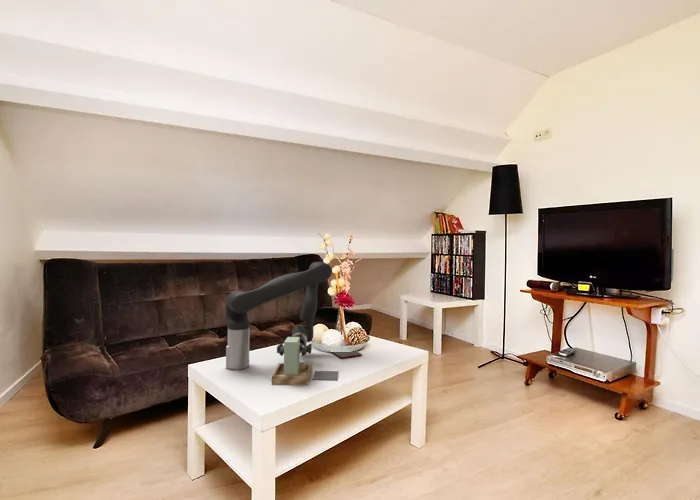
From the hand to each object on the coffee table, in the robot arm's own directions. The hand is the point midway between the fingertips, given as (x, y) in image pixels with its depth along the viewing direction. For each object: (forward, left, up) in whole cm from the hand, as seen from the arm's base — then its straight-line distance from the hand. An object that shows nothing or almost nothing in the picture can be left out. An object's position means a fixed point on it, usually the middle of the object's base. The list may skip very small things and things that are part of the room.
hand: (292, 353), depth 154 cm
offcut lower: (0, +7, -9) cm, 12 cm away
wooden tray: (0, +2, -11) cm, 11 cm away
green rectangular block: (0, 0, -9) cm, 9 cm away
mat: (+13, +5, -11) cm, 18 cm away
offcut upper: (+1, +7, -8) cm, 10 cm away
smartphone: (+18, +40, -11) cm, 46 cm away
